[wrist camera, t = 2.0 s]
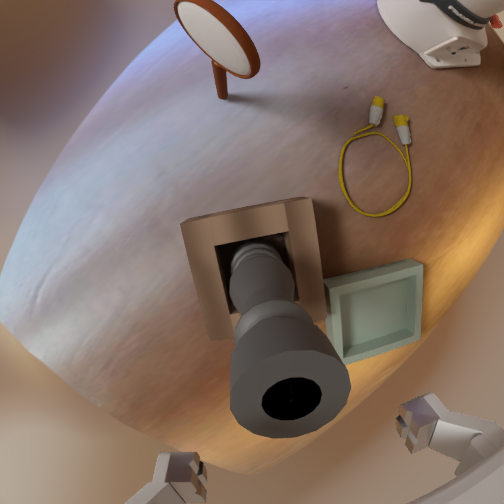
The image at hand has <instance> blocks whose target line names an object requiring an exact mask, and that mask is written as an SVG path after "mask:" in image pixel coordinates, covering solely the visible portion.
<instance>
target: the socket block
mask: <svg viewBox="0 0 504 504" xmlns="http://www.w3.org/2000/svg"><path fill="white" fill-rule="evenodd" d="M180 225H181V230H182V234H183V239H184V243H185V247H186V252H187V256H188V260H189V264H190V268H191V272H192V276H193V280H194V284H195V288H196V292H197V295H198V299H199V303H200V307H201V310H202V314H203V317H204V321H205V325H206V328H207V332H208V335H209V338H210V341H216V340H222V339H228V338H234V337H235V327H236V325H237V323H238V321H239V319H240V317H241V314H240V313H239V311H238V310H237V309H236V307H235V306H234V304H233V301H232V299H231V298H230V295H229V290H228V286H227V282H226V277H225V273H224V268H223V264H222V259H221V255H220V250H219V246H218V245H221V244H226V243H231V242H236V241H241V240H246V239H251V238H256V237H261V236H266V235H271V234H276V233H282V232H283V237H284V243H285V249H286V255H287V261H288V267H289V270H290V271H291V273H292V277H293V280H294V283H295V288H294V300H293V302H295V303H297V304H300V305H301V306H302V307H303V308H304V309H305V310H306V311H307V312H308V314H309V315H310V316H311V317H312V321H316V320H320V319H324V318H327V311H326V301H325V292H324V283H323V275H322V266H321V259H320V251H319V244H318V237H317V230H316V223H315V217H314V210H313V204H312V198H307V197H296V198H291V199H285V200H279V201H274V202H269V203H263V204H258V205H253V206H247V207H242V208H237V209H232V210H227V211H222V212H217V213H213V214H208V215H203V216H199V217H194V218H189V219H187V220H185V221H184V222H182V223H181V224H180Z"/></svg>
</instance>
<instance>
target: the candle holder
mask: <svg viewBox="0 0 504 504" xmlns="http://www.w3.org/2000/svg"><path fill="white" fill-rule="evenodd" d="M230 275H231V279H230V297H231V299H232V301H233V304H234V306H235V307H236V309H237V310H238V311H239V313H240V314H241V317H240V319H239V321H238V323H237V325H236V327H235V341H234V344H235V348H234V350H233V352H232V354H231V370H230V410H231V412H232V413H233V415H234V417H235V418H236V420H237V422H238V423H239V424H240V425H241V426H243V427H244V428H246V429H247V430H249V431H250V432H252V433H254V434H257V435H261V436H265V437H270V438H292V437H298V436H301V435H304V434H307V433H310V432H313V431H316V430H318V429H319V428H321V427H322V426H324V425H325V424H327V423H328V422H330V421H331V420H333V419H334V418H335V417H336V416H337V414H338V413H339V412H340V411H341V410H342V408H343V407H344V406H345V405H346V402H347V399H348V396H349V393H350V390H351V384H350V379H349V374H348V370H347V369H346V367H345V365H344V363H343V362H342V360H341V358H340V357H339V355H338V353H337V352H336V350H335V348H334V347H333V345H332V343H331V342H330V340H329V338H328V337H327V336H326V335H325V334H324V333H323V332H322V331H321V330H320V329H319V328H318V326H316V325H314V324H313V321H312V317H311V316H310V315H309V314H308V312H307V311H306V310H305V309H304V308H303V307H302V306H301V305H300V304H297V303H295V302H293V300H294V288H295V283H294V280H293V277H292V273H291V271H290V270H289V269H288V268H287V267H286V266H285V264H284V263H283V261H282V258H281V256H280V254H279V253H278V251H277V250H276V249H275V247H274V246H273V245H272V244H271V243H270V242H267V241H265V240H263V239H255V238H251V239H249V240H246V241H243V242H242V243H240V244H239V245H238V246H237V247H236V248H235V249H234V252H233V254H232V256H231V265H230Z"/></svg>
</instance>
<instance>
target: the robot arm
mask: <svg viewBox="0 0 504 504" xmlns="http://www.w3.org/2000/svg"><path fill="white" fill-rule="evenodd" d="M377 5H378V9H379V12H380V14H381V17H382V18H383V20H384V22H385V23H386V25H387V26H388V27H389V29H390V30H391V31H392V32H393V33H394V34H395V35H396V36H397V37H398V38H399V39H400V40H401V41H402V42H403V43H405V44H406V45H407V46H409V47H410V48H411V49H413V50H414V51H415V52H417V53H418V54H419V55H420V56H421V58H422V59H423V60H424V61H425V62H426V64H427V65H428V66H429V67H431V68H433V69H436V68H449V67H469V66H478V65H480V63H481V57H480V51H481V50H482V49H484V48H486V46H487V35H486V31H485V26H486V24H487V23H488V22H489V21H490V23H491V26H492V27H493V28H501V27H502V23H501V22H500V20H499V18H498V16H497V15H496V14H497V13H499V12H501V11H503V10H504V0H377ZM398 413H399V416H398V417H397V419H396V429H397V431H398V434H399V435H400V437H401V438H404V439H406V442H405V445H406V447H407V448H408V450H409V451H410V453H411V454H413V453H415V452H418V451H420V450H422V449H424V448H426V447H428V446H429V448H431V449H433V450H436V451H438V452H440V453H442V454H444V455H446V456H449V457H451V458H453V459H456V460H458V461H460V463H459V465H458V467H457V468H456V470H455V475H456V476H457V477H456V478H454V479H453V480H451V481H449V482H448V483H446V484H444V485H442V486H441V487H439V488H437V489H435V490H433V491H431V492H430V493H428V494H426V495H424V496H422V497H420V498H418V499H416V500H414V501H412V502H410V503H407V504H504V430H503V429H502V427H500V425H499V424H498V423H497V422H495V421H491V420H486V419H482V418H478V417H474V416H470V415H465V414H462V413H458V412H455V411H453V412H450V411H449V410H448V409H447V408H446V407H445V406H444V405H443V403H442V402H441V401H440V400H439V399H438V398H437V397H436V396H435V394H434V393H433V392H428V393H426V394H424V395H422V396H420V397H417V398H415V399H412V400H410V401H408V402H406V403H403V404H401V405H400V406H399V407H398ZM199 460H200V456H199V454H198V453H197V452H161V453H160V454H159V455H158V459H157V464H156V468H155V472H154V476H153V481H152V482H148V483H147V484H146V485H145V486H144V487H143V488H142V489H140V490H139V491H138V492H137V493H136V494H135V495H134V496H132V497H131V498H130V499H129V500H128V501H126V502H125V503H124V504H186V503H206V494H207V490H206V489H205V487H204V485H205V484H206V483H207V470H206V467H205V465H204V463H203V462H201V461H199Z"/></svg>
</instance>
